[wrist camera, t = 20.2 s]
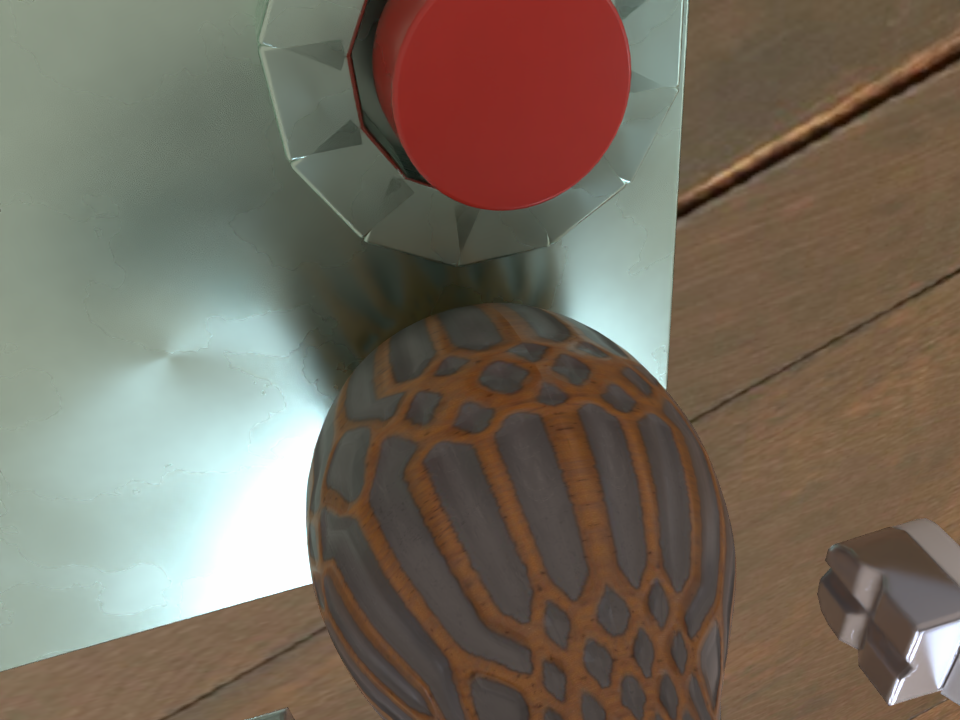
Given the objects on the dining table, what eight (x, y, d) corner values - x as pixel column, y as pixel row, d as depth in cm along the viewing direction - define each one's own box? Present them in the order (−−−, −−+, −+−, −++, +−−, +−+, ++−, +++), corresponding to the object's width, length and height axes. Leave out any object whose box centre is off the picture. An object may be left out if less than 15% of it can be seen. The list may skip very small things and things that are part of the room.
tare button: (581, -79, 10) (636, -66, 9) (585, 148, 12) (631, 188, 11) (350, -43, 10) (369, -25, 8) (392, 187, 12) (414, 234, 10)
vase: (312, 540, 17) (368, 1024, 10) (269, 269, 13) (313, 749, 6) (595, 488, 19) (813, 875, 12) (632, 231, 15) (991, 580, 8)
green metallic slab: (660, -220, 12) (767, -235, 10) (639, 450, 20) (692, 531, 18) (-925, -24, 9) (-1355, 27, 6) (-170, 672, 17) (-234, 805, 15)
